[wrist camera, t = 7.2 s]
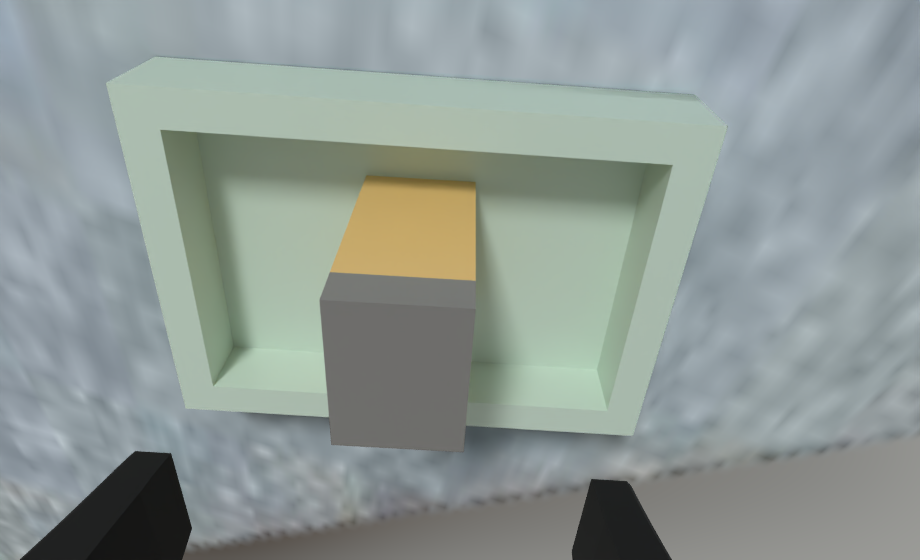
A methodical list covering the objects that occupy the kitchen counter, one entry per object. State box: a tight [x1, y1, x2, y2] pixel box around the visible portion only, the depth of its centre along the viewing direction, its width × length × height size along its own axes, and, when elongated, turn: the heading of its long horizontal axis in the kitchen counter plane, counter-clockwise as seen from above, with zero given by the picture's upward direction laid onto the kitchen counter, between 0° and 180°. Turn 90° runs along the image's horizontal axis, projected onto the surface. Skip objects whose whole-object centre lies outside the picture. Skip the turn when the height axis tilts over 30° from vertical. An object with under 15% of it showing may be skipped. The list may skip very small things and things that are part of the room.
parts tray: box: [106, 57, 728, 436], centre depth 18 cm, size 14×10×2 cm
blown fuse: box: [319, 175, 476, 452], centre depth 15 cm, size 3×4×6 cm
